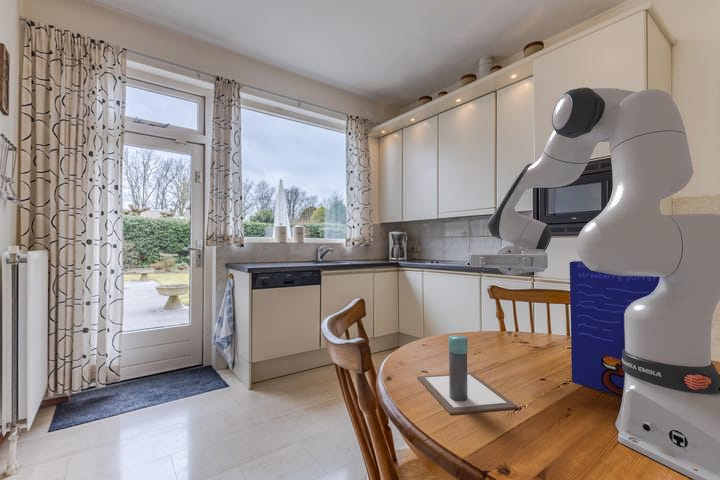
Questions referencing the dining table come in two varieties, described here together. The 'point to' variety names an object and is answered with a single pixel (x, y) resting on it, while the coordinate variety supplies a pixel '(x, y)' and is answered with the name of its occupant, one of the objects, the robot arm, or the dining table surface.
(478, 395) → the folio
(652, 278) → the cereal box
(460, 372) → the marker
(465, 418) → the dining table surface
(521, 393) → the dining table surface
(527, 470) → the dining table surface
